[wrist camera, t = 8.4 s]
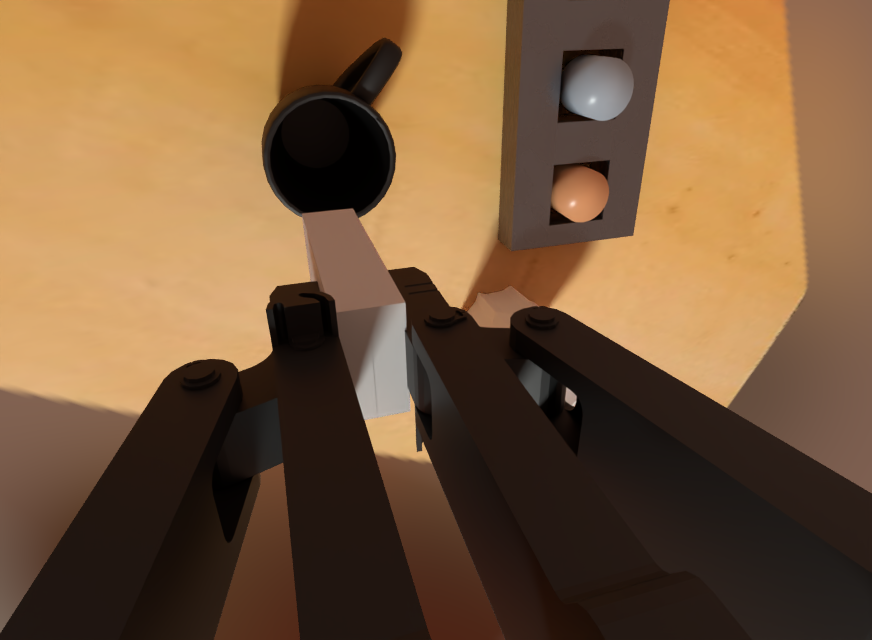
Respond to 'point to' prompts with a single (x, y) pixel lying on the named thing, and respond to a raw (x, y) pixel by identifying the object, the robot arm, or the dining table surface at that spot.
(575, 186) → the button orange
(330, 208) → the mug
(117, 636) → the robot arm
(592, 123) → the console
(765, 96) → the dining table surface
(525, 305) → the cup
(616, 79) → the button slate
